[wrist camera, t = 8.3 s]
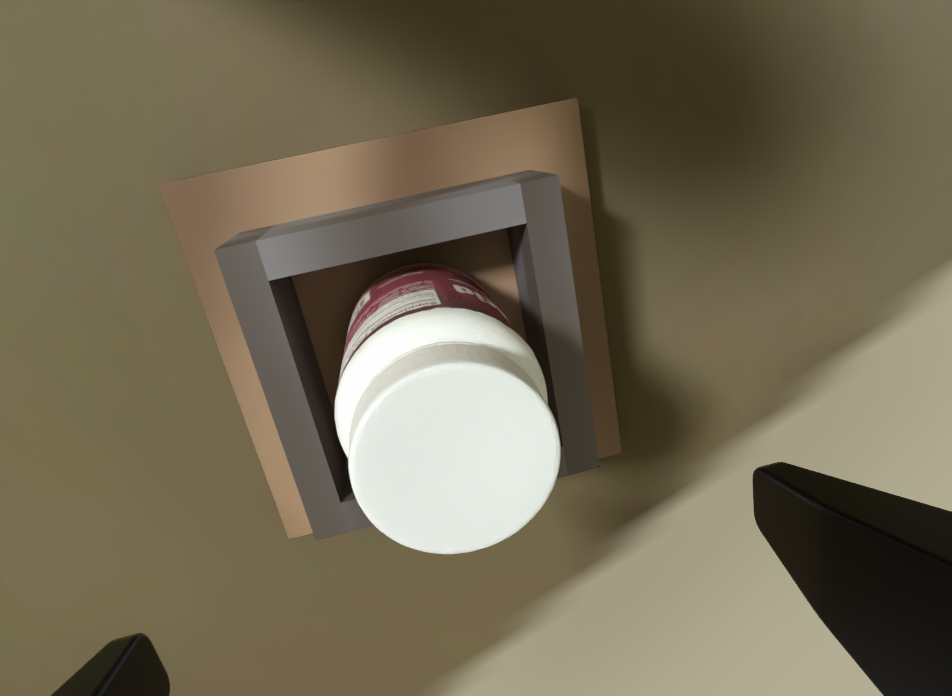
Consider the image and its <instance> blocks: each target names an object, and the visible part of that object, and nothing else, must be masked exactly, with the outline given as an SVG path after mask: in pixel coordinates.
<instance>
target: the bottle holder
mask: <svg viewBox="0 0 952 696" xmlns="http://www.w3.org/2000/svg"><path fill="white" fill-rule="evenodd" d="M158 186H159V189H160V191H161V194H162V197H163V199H164V202H165V205H166V208H167V210H168V213H169V216H170V218H171V221H172V224H173V226H174V229H175V232H176V235H177V237H178V240H179V243H180V245H181V248H182V251H183V254H184V256H185V259H186V262H187V264H188V267H189V270H190V272H191V275H192V278H193V281H194V283H195V286H196V289H197V291H198V294H199V297H200V300H201V302H202V305H203V308H204V310H205V313H206V316H207V318H208V321H209V324H210V327H211V329H212V332H213V335H214V337H215V340H216V343H217V345H218V348H219V351H220V354H221V356H222V359H223V362H224V364H225V367H226V370H227V373H228V375H229V378H230V381H231V383H232V386H233V389H234V391H235V394H236V397H237V400H238V402H239V405H240V408H241V410H242V413H243V416H244V419H245V421H246V424H247V427H248V429H249V432H250V435H251V437H252V440H253V443H254V446H255V448H256V451H257V454H258V456H259V459H260V462H261V464H262V467H263V470H264V473H265V475H266V478H267V481H268V483H269V486H270V489H271V492H272V494H273V497H274V500H275V502H276V505H277V508H278V510H279V513H280V516H281V519H282V521H283V524H284V527H285V529H286V532H287V535H288V537H289V539H291V538H295V537H299V536H303V535H306V534H310V533H313V534H314V537H315V540H320V539H324V538H327V537H331V536H335V535H339V534H343V533H347V532H351V531H355V530H358V529H362V528H366V527H370V526H374V525H373V524H372V522H371V521H370V520H369V519H368V517H367V516H366V515H365V513H364V512H363V510H362V509H361V507H360V506H359V504H358V502H357V500H356V497H355V495H354V492H353V489H352V485H351V481H350V477H349V469H348V458H347V456H346V454H345V452H344V450H343V448H342V445H341V443H340V440H339V438H338V435H337V430H336V425H335V419H334V404H335V395H336V389H337V386H338V383H339V377H340V371H341V365H342V360H343V355H344V348H345V343H346V337H347V333H348V328H349V322H350V319H351V316H352V313H353V310H354V308H355V306H356V304H357V302H358V300H359V299H360V297H361V296H362V294H363V293H364V292H365V291H366V289H367V288H368V287H369V286H370V285H371V284H372V283H373V282H374V281H376V280H377V279H378V278H380V277H381V276H383V275H384V274H386V273H388V272H390V271H392V270H394V269H397V268H399V267H403V266H406V265H411V264H417V263H435V264H441V265H446V266H449V267H452V268H455V269H458V270H460V271H461V272H463V273H465V274H467V275H468V276H469V277H471V278H472V279H473V280H475V281H476V282H477V283H478V284H479V285H480V286H481V287H482V288H483V289H484V290H485V291H486V293H487V294H488V295H489V296H490V297H491V299H492V300H493V301H494V302H495V303H496V304H497V306H498V307H499V308H500V309H501V311H502V312H503V313H504V315H505V316H506V318H507V319H508V320H509V322H510V323H511V324H512V326H513V327H514V328H515V329H516V330H517V332H518V333H519V334H520V335H521V336H522V337H523V338H524V339H525V340H526V342H527V343H528V345H529V346H530V347H531V348H532V350H533V351H534V355H535V357H536V359H537V361H538V363H539V365H540V368H541V370H542V373H543V376H544V379H545V383H546V389H547V398H548V406H549V408H550V410H551V412H552V414H553V416H554V419H555V421H556V424H557V428H558V432H559V437H560V446H561V456H560V466H559V471H558V475H557V478H559V477H563V476H567V475H571V474H575V473H579V472H583V471H586V470H590V469H594V468H598V467H600V465H599V459H601V458H605V457H609V456H613V455H617V454H621V453H622V450H621V442H620V434H619V426H618V418H617V410H616V402H615V393H614V385H613V377H612V369H611V361H610V353H609V345H608V337H607V329H606V321H605V313H604V305H603V297H602V289H601V281H600V273H599V265H598V257H597V249H596V241H595V233H594V225H593V217H592V209H591V201H590V193H589V185H588V177H587V169H586V161H585V153H584V145H583V137H582V129H581V121H580V112H579V104H578V97H577V98H572V99H567V100H562V101H558V102H553V103H548V104H543V105H538V106H534V107H529V108H524V109H519V110H514V111H509V112H505V113H500V114H495V115H490V116H485V117H481V118H476V119H471V120H466V121H461V122H457V123H452V124H447V125H442V126H437V127H432V128H428V129H423V130H418V131H413V132H408V133H404V134H399V135H394V136H389V137H384V138H380V139H375V140H370V141H365V142H360V143H355V144H351V145H346V146H341V147H336V148H331V149H327V150H322V151H317V152H312V153H307V154H303V155H298V156H293V157H288V158H283V159H278V160H274V161H269V162H264V163H259V164H254V165H250V166H245V167H240V168H235V169H230V170H226V171H221V172H216V173H211V174H206V175H201V176H197V177H192V178H187V179H182V180H177V181H173V182H168V183H163V184H158Z"/></svg>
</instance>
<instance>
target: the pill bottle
mask: <svg viewBox="0 0 952 696" xmlns="http://www.w3.org/2000/svg"><path fill="white" fill-rule="evenodd" d="M334 419H335V425H336V430H337V435H338V438H339V440H340V443H341V445H342V448H343V450H344V452H345V454H346V456H347V458H348V469H349V477H350V481H351V485H352V489H353V492H354V495H355V497H356V500H357V502H358V504H359V506H360V507H361V509H362V510H363V512H364V513H365V515H366V516H367V517H368V519H369V520H370V521H371V522H372V524H373V525H375V526H376V527H377V528H378V529H379V530H380V531H381V532H383V533H384V534H385V535H387V536H388V537H390V538H391V539H393V540H395V541H396V542H398V543H400V544H402V545H404V546H407V547H410V548H413V549H416V550H420V551H424V552H429V553H438V554H457V553H465V552H471V551H475V550H479V549H482V548H486V547H489V546H491V545H494V544H496V543H498V542H500V541H502V540H504V539H506V538H508V537H510V536H511V535H513V534H514V533H516V532H518V531H519V530H520V529H521V528H522V527H523V526H525V525H526V524H527V523H528V522H529V521H530V520H531V519H532V518H533V517H534V516H535V515H536V514H537V513H538V511H539V510H540V509H541V507H542V506H543V505H544V503H545V502H546V500H547V498H548V497H549V495H550V493H551V491H552V489H553V487H554V484H555V481H556V478H557V475H558V471H559V466H560V456H561V446H560V437H559V432H558V428H557V424H556V421H555V419H554V416H553V414H552V412H551V410H550V408H549V406H548V398H547V389H546V383H545V379H544V376H543V373H542V370H541V368H540V365H539V363H538V361H537V359H536V357H535V355H534V351H533V350H532V348H531V347H530V346H529V345H528V343H527V342H526V340H525V339H524V338H523V337H522V336H521V335H520V334H519V333H518V332H517V330H516V329H515V328H514V327H513V326H512V324H511V323H510V322H509V320H508V319H507V318H506V316H505V315H504V313H503V312H502V311H501V309H500V308H499V307H498V306H497V304H496V303H495V302H494V301H493V300H492V299H491V297H490V296H489V295H488V294H487V293H486V291H485V290H484V289H483V288H482V287H481V286H480V285H479V284H478V283H477V282H476V281H475V280H473V279H472V278H471V277H469V276H468V275H467V274H465V273H463V272H461V271H460V270H458V269H455V268H452V267H449V266H446V265H441V264H435V263H417V264H411V265H406V266H403V267H399V268H397V269H394V270H392V271H390V272H388V273H386V274H384V275H383V276H381V277H380V278H378V279H377V280H376V281H374V282H373V283H372V284H371V285H370V286H369V287H368V288H367V289H366V291H365V292H364V293H363V294H362V296H361V297H360V299H359V300H358V302H357V304H356V306H355V308H354V310H353V313H352V316H351V319H350V322H349V328H348V333H347V337H346V343H345V348H344V355H343V360H342V365H341V371H340V377H339V383H338V386H337V389H336V395H335V404H334Z"/></svg>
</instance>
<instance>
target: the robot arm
mask: <svg viewBox="0 0 952 696" xmlns="http://www.w3.org/2000/svg"><path fill="white" fill-rule="evenodd" d="M753 499H754V516H755V520H756V523H757V525H758V527H759V529H760V531H761V532H762V534H763V535H764V537H765V538H766V540H767V541H768V543H769V544H770V546H771V547H772V549H773V550H774V551H775V553H776V555H777V556H778V558H779V559H780V561H781V562H782V564H783V565H784V567H785V568H786V569H787V571H788V572H789V574H790V575H791V577H792V578H793V580H794V581H795V583H796V584H797V586H798V587H799V589H800V590H801V592H802V593H803V595H804V596H805V598H806V599H807V601H808V602H809V603H810V605H811V606H812V608H813V609H814V611H815V612H816V613H817V615H818V616H819V618H820V619H821V620H822V621H823V623H824V624H825V625H826V626H827V628H828V629H829V630H830V631H831V632H832V634H833V635H834V636H835V637H836V639H837V640H838V641H839V642H840V643H841V645H842V646H843V647H844V648H845V650H846V651H847V652H848V653H849V654H850V655H851V657H852V658H853V659H854V660H855V662H856V663H857V664H858V665H859V666H860V668H861V669H862V670H863V671H864V673H865V674H866V675H867V676H868V677H869V679H870V680H871V681H872V682H873V683H874V685H875V686H876V687H877V688H878V689H879V691H880V692H881V693H882V694H883V695H884V696H952V512H951V511H947V510H944V509H941V508H937V507H933V506H930V505H927V504H923V503H920V502H917V501H913V500H910V499H907V498H903V497H900V496H896V495H893V494H890V493H886V492H883V491H879V490H876V489H873V488H869V487H866V486H862V485H859V484H856V483H852V482H848V481H845V480H842V479H838V478H835V477H832V476H828V475H825V474H821V473H818V472H815V471H811V470H808V469H804V468H801V467H797V466H794V465H791V464H787V463H784V462H777V463H773V464H770V465H766V466H762V467H759V468H757V469H756V470H755V471H754V473H753ZM169 693H170V683H169V678H168V675H167V672H166V670H165V668H164V666H163V664H162V662H161V660H160V658H159V656H158V654H157V652H156V650H155V648H154V646H153V644H152V642H151V641H150V639H149V637H148V636H146V635H145V634H142V633H137V634H133V635H130V636H126V637H122V638H118V639H115V640H113V641H111V642H109V643H108V644H107V645H106V646H105V647H104V648H103V649H101V650H100V651H99V652H98V653H97V654H96V655H95V656H94V657H93V658H92V659H90V660H89V661H88V662H87V663H86V664H85V665H84V666H83V667H82V668H81V669H79V670H78V671H77V672H76V673H75V674H74V675H73V676H72V677H71V678H70V679H68V680H67V681H66V682H65V683H64V684H63V685H62V686H61V687H60V688H59V689H57V690H56V691H55V692H54V693H53V694H52V695H51V696H169Z"/></svg>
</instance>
